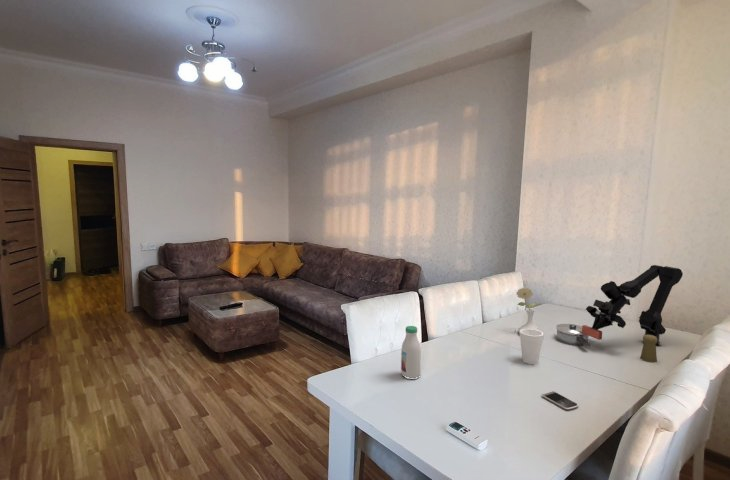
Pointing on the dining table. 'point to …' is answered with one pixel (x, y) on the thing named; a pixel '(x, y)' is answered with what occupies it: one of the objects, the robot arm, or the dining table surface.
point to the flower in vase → (525, 294)
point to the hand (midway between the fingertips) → (593, 329)
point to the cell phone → (560, 401)
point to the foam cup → (531, 345)
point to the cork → (649, 348)
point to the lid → (579, 330)
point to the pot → (573, 339)
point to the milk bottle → (411, 354)
